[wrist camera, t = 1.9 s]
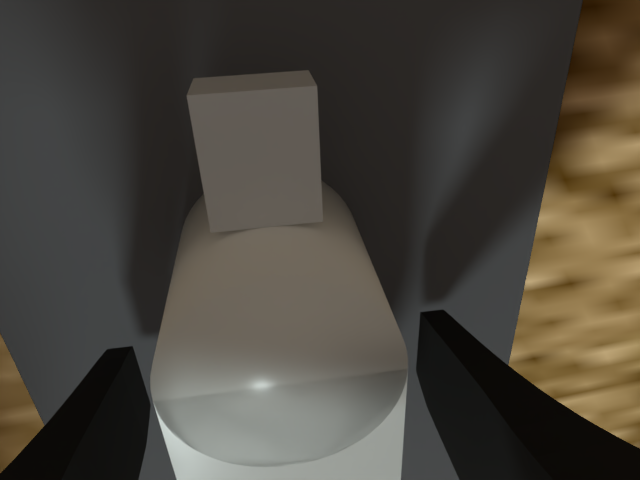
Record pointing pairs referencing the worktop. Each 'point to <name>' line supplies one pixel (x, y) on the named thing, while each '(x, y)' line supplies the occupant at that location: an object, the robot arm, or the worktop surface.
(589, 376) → the worktop surface
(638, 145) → the worktop surface
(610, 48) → the worktop surface
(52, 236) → the rubber mat
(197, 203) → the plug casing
